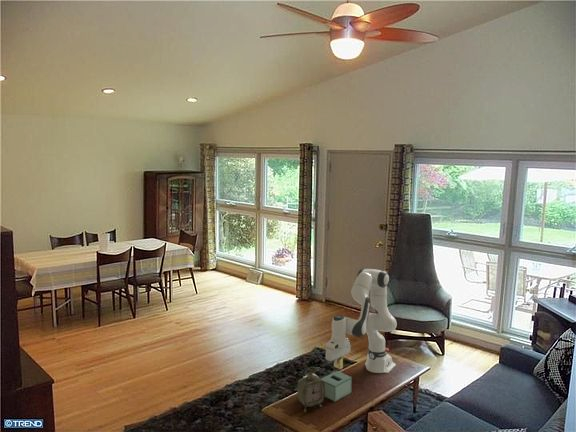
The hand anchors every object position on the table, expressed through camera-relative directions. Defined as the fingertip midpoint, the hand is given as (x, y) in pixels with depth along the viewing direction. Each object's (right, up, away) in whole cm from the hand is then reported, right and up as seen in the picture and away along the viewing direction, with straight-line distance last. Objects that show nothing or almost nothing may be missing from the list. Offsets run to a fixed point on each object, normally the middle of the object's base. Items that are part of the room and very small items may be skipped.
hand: (338, 363), depth 279 cm
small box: (-17, -20, -1) cm, 26 cm away
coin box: (-1, -20, +3) cm, 20 cm away
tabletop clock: (-18, -22, -13) cm, 31 cm away
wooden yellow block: (0, -2, 0) cm, 2 cm away
